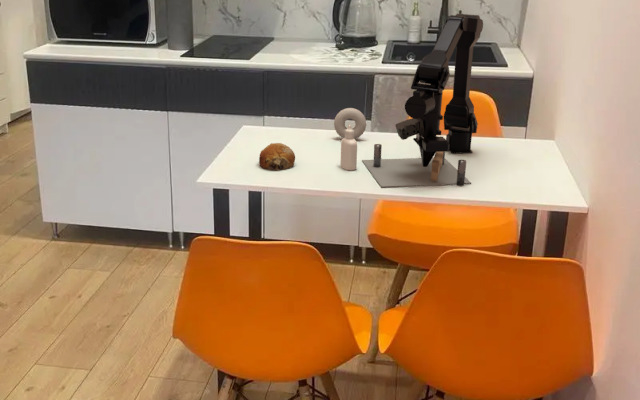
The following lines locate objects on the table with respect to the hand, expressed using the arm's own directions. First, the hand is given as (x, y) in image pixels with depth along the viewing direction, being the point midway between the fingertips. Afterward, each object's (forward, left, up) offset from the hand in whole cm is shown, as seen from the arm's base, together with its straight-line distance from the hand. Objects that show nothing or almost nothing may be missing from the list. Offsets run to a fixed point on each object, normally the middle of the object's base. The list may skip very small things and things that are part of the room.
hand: (424, 166), depth 192 cm
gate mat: (+2, -2, -2) cm, 4 cm away
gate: (-3, +2, -1) cm, 3 cm away
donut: (+13, -35, -2) cm, 37 cm away
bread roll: (+38, -12, -3) cm, 40 cm away
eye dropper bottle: (+19, -8, -2) cm, 21 cm away
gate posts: (+2, +1, -2) cm, 3 cm away
